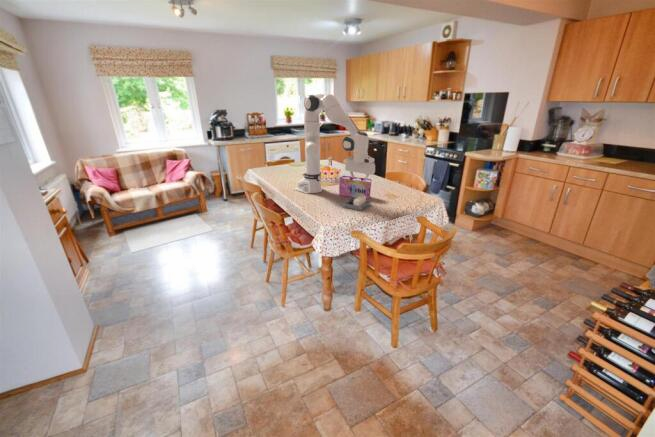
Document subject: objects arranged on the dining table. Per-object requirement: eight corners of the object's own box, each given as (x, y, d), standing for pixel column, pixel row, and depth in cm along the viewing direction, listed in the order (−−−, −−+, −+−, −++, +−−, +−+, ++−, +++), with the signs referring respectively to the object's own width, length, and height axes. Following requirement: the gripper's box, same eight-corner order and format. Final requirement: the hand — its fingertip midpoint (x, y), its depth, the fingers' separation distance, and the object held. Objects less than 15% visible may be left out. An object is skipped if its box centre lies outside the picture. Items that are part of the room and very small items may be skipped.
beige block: (353, 207, 199) (353, 199, 196) (360, 203, 207) (360, 194, 205) (358, 209, 197) (359, 200, 194) (365, 204, 205) (366, 195, 203)
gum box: (372, 196, 221) (373, 179, 215) (368, 200, 214) (369, 182, 209) (343, 192, 231) (343, 175, 226) (338, 195, 225) (338, 177, 219)
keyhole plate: (342, 207, 201) (343, 203, 200) (352, 201, 212) (352, 197, 211) (361, 211, 194) (361, 207, 193) (370, 204, 205) (370, 201, 204)
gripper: (343, 157, 192) (343, 177, 198) (372, 161, 182) (371, 182, 188) (348, 155, 197) (347, 175, 202) (376, 159, 187) (375, 180, 193)
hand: (359, 179), depth 195 cm, fingers open, 8 cm apart
